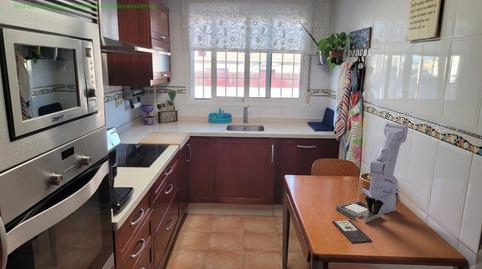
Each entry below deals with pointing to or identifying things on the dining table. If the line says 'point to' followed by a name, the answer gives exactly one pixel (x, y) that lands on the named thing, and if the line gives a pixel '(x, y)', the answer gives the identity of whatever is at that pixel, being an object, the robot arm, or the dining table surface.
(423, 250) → the dining table surface
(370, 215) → the scraper
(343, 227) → the chocolate bar
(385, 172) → the robot arm
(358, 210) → the tile
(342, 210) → the bay
